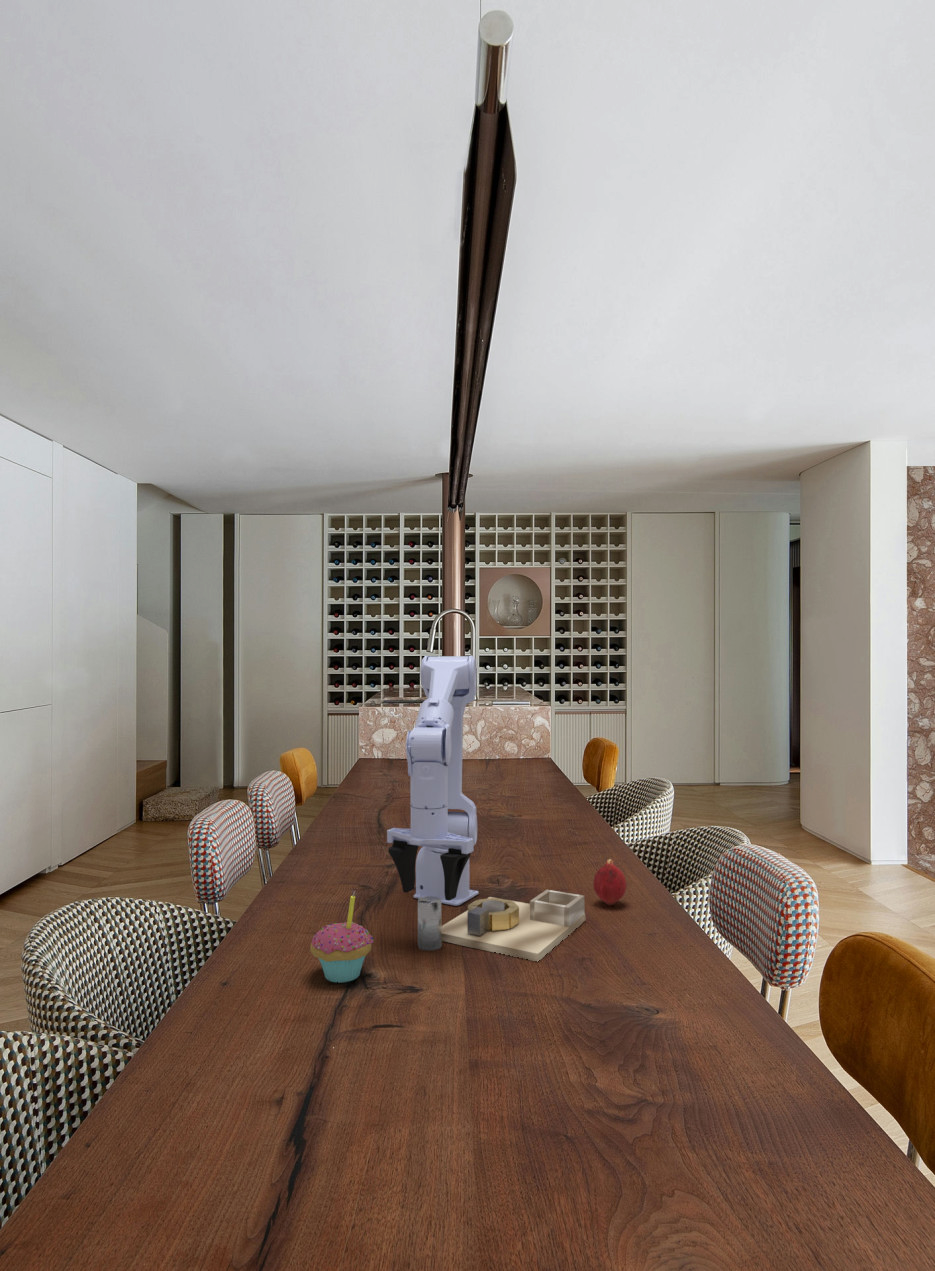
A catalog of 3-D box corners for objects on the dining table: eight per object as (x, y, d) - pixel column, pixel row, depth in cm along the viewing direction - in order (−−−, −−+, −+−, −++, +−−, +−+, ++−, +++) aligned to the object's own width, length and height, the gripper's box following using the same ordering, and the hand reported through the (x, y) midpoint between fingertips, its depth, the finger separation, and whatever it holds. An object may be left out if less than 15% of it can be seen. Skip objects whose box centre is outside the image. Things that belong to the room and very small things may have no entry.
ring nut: (452, 930, 120) (451, 909, 120) (483, 910, 129) (483, 890, 129) (496, 939, 116) (496, 918, 116) (525, 917, 125) (525, 898, 125)
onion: (626, 911, 132) (626, 865, 132) (592, 909, 133) (592, 863, 133) (626, 900, 138) (626, 856, 138) (594, 898, 139) (593, 854, 139)
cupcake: (382, 968, 109) (382, 883, 110) (354, 993, 101) (354, 902, 102) (329, 960, 112) (329, 877, 112) (298, 984, 104) (298, 895, 104)
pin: (413, 947, 117) (413, 901, 117) (426, 939, 120) (426, 894, 120) (433, 952, 115) (433, 905, 115) (445, 944, 118) (445, 898, 118)
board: (432, 939, 120) (432, 912, 120) (489, 903, 136) (489, 879, 137) (538, 962, 111) (537, 932, 111) (585, 920, 128) (585, 895, 128)
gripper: (375, 805, 118) (375, 894, 117) (456, 815, 111) (457, 910, 110) (401, 797, 124) (401, 882, 124) (480, 806, 117) (480, 896, 116)
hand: (429, 894), depth 117 cm, fingers open, 7 cm apart
